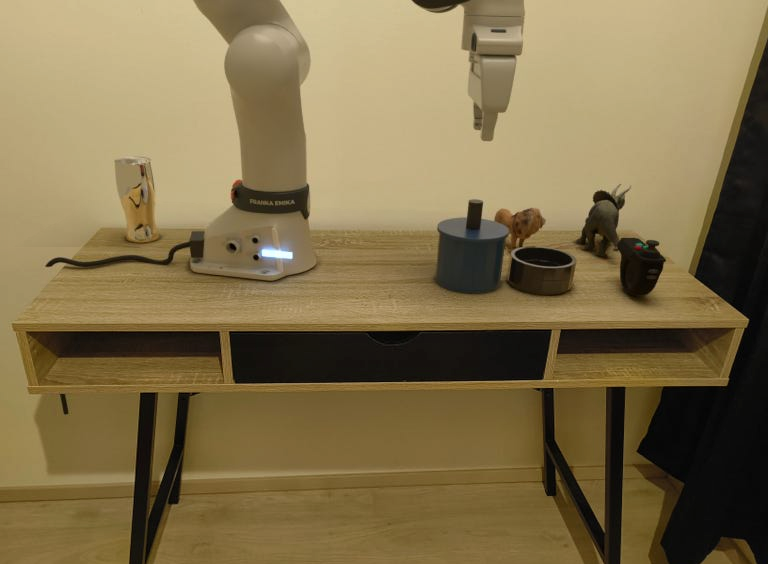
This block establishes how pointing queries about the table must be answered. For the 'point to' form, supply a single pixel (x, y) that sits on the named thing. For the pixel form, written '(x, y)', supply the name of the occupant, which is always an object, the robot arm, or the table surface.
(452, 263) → the pot
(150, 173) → the beer glass
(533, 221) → the lion figurine
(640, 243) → the controller
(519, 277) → the pan
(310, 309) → the table surface
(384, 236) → the table surface
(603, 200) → the toy dinosaur
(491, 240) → the lid
